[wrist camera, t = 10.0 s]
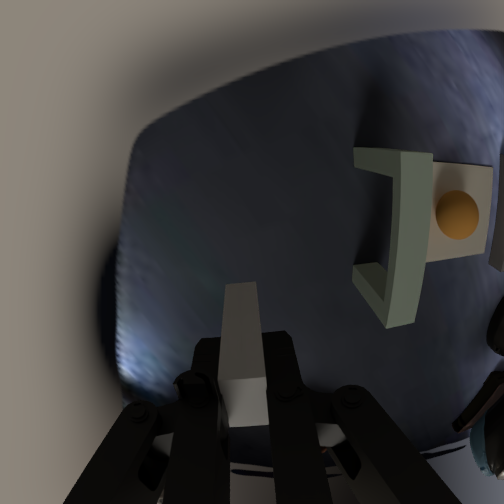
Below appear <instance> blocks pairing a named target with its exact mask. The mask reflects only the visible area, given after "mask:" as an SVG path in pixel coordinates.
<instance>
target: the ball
mask: <svg viewBox="0 0 504 504" xmlns="http://www.w3.org/2000/svg"><path fill="white" fill-rule="evenodd" d="M435 215H436V221H437V224H438V226H439V228H440V230H441V231H442V232H443V233H444V234H445V235H446V236H448V237H449V238H451V239H456V240H461V239H465V238H467V237H469V236H470V235H471V234H472V233H473V232H474V231H475V230H476V228H477V225H478V222H479V210H478V207H477V204H476V202H475V201H474V199H473V198H472V197H471V196H470V195H469V194H467V193H466V192H464V191H460V190H452V191H449V192H447V193H445V194H444V195H443V196H442V197H441V198H440V200H439V201H438V203H437V206H436V212H435Z"/></svg>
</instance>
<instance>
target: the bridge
mask: <svg viewBox="0 0 504 504" xmlns="http://www.w3.org/2000/svg"><path fill="white" fill-rule="evenodd" d="M353 151H354V167H355V168H359V169H363V170H367V171H371V172H375V173H379V174H383V175H386V176H390V177H393V205H392V227H391V242H390V254H389V264H388V272H387V271H386V270H385V269H384V268H383V267H382V266H381V265H380V264H379V263H378V262H375V263H366V264H358V265H353V275H352V282H353V283H354V285H355V286H356V287H357V289H358V290H359V291H360V293H361V294H362V296H363V297H364V298H365V300H366V301H367V303H368V304H369V305H370V307H371V308H372V310H373V311H374V312H375V314H376V315H377V317H378V318H379V319H380V321H381V322H382V324H383V325H384V327H385V328H386V329H387V328H391V327H396V326H401V325H405V324H409V323H414V320H415V316H416V312H417V307H418V302H419V297H420V292H421V287H422V282H423V276H424V270H425V263H426V256H427V248H428V240H429V231H430V220H431V206H432V185H433V153H425V152H417V151H408V150H399V149H388V148H366V147H353Z"/></svg>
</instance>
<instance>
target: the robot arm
mask: <svg viewBox="0 0 504 504" xmlns="http://www.w3.org/2000/svg"><path fill="white" fill-rule="evenodd" d="M487 344H488V346H489V347H490V348H491V349H492V350H493V351H494V352H495V353H497V354H499V355H501V356H504V298H503V299H502V301H501V302H500V304H499V305H498V307H497V309H496V311H495V313H494V315H493V317H492V319H491V322H490V325H489V328H488V331H487ZM173 385H174V388H175V390H176V393H177V395H178V398H179V400H178V401H176V402H175V403H172V404H168V405H164V406H160V407H155V405H154V404H153V403H151V402H149V401H143V400H139V401H134V402H132V403H130V404H128V405H127V406H126V407H125V408H124V409H123V411H122V412H121V414H120V415H119V417H118V418H117V420H116V421H115V423H114V424H113V426H112V427H111V429H110V431H109V432H108V434H107V435H106V437H105V438H104V440H103V441H102V443H101V445H100V446H99V447H98V449H97V450H96V452H95V454H94V455H93V457H92V458H91V460H90V461H89V463H88V464H87V466H86V468H85V469H84V471H83V472H82V474H81V476H80V477H79V479H78V480H77V482H76V484H75V485H74V487H73V488H72V490H71V491H70V493H69V495H68V496H67V498H66V499H65V501H64V503H63V504H157V502H158V500H159V498H160V495H161V493H162V491H163V489H164V495H163V502H162V504H230V436H229V433H228V422H229V426H230V427H241V426H256V425H268V424H269V429H270V440H271V451H272V461H273V472H274V482H275V493H276V503H277V504H333V502H332V498H331V492H330V488H329V483H328V479H327V474H326V470H325V465H324V461H323V456H322V452H321V447H320V446H326V448H327V450H328V452H329V453H330V455H331V457H332V458H333V460H334V462H335V463H336V465H337V467H338V468H339V470H340V471H341V473H342V475H343V476H344V478H345V480H346V482H347V483H348V485H349V486H350V488H351V490H352V491H353V493H354V495H355V496H356V498H357V499H358V501H359V502H360V504H462V503H461V502H460V501H459V500H458V498H457V497H456V496H455V495H454V494H453V492H452V491H451V490H450V489H449V488H448V486H447V485H446V484H445V483H444V481H443V480H442V479H441V478H440V477H439V476H438V474H437V473H436V472H435V471H434V469H433V468H432V467H431V466H430V465H429V463H428V462H427V461H426V460H425V459H424V457H423V456H422V455H421V454H420V453H419V451H418V450H417V449H416V448H415V447H414V445H413V444H412V443H411V442H410V440H409V439H408V438H407V437H406V436H405V434H404V433H403V432H402V431H401V430H400V428H399V427H398V426H397V425H396V424H395V422H394V421H393V420H392V419H391V418H390V416H389V415H388V414H387V413H386V412H385V410H384V409H383V408H382V407H381V406H380V404H379V403H378V402H377V401H376V400H375V398H374V397H373V396H372V395H371V394H370V392H369V391H367V390H366V389H365V388H364V387H361V386H358V385H346V386H342V387H341V388H339V389H337V390H336V391H335V392H334V394H328V393H319V392H315V391H313V390H310V389H309V388H307V387H306V386H305V385H304V383H303V381H302V379H301V375H300V370H299V366H298V362H297V358H296V355H295V350H294V346H293V341H292V337H291V336H290V335H289V334H288V333H287V332H286V331H276V332H266V333H261V325H260V316H259V306H258V297H257V287H256V282H247V283H236V284H226V290H225V300H224V311H223V322H222V333H221V337H215V338H201V340H200V341H199V342H198V343H197V345H196V346H195V351H194V356H193V361H192V366H191V370H189V371H186V372H184V373H182V374H180V375H179V376H178V377H177V378H176V379H175V381H174V383H173ZM470 446H471V450H472V453H473V456H474V459H475V462H476V464H477V465H478V467H480V470H481V472H482V473H483V474H484V475H486V476H491V475H494V474H495V475H496V477H497V479H498V480H504V394H503V395H502V396H501V397H500V398H499V399H498V400H497V401H496V402H495V403H494V404H493V405H492V406H491V407H490V408H489V409H487V410H486V411H485V413H484V415H483V416H482V417H481V418H480V419H479V420H478V421H477V422H476V423H475V424H474V425H473V427H472V429H471V432H470ZM164 487H165V488H164Z"/></svg>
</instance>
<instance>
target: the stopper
mask: <svg viewBox="0 0 504 504" xmlns="http://www.w3.org/2000/svg"><path fill="white" fill-rule="evenodd" d="M489 265H491V266H493V267H494V268H496V269H497V270H498V271H500V272H503V271H504V155H503V154H500V177H499V194H498V205H497V215H496V223H495V230H494V237H493V243H492V248H491V254H490V259H489Z"/></svg>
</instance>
